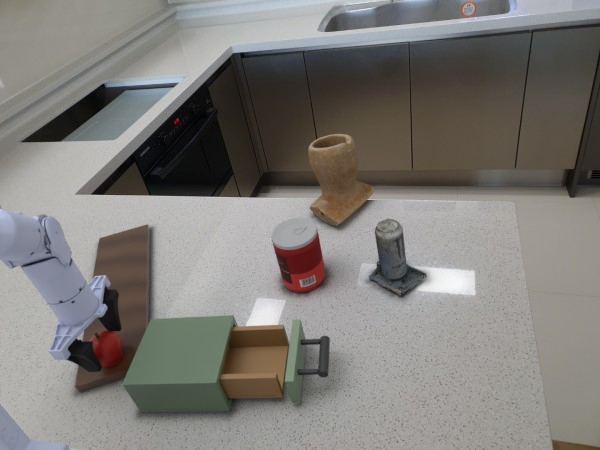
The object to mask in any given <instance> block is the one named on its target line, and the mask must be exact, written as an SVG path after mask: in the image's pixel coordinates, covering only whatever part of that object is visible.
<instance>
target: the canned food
mask: <svg viewBox="0 0 600 450" xmlns="http://www.w3.org/2000/svg"><path fill="white" fill-rule="evenodd" d="M271 242H272V246H273V250H274V253H275V257H276V260H277V264H278V267H279V268H278V269H279V271H280V276H281V278H282V282H283V284H284V285H285V288H287V289H288V290H289V291H291V292H294V293H299V294H301V293H308V292H312V291H313V290H315V289H317V288H318V287H320V286H321V284H322V283H323V282H324V280H325V276H326V269H325V268H326V267H325V263H324V258H323V257H324V256H323V252H322V245H321V240H320V235H319V232H318V226H317V225H316V223H315V222H314V221H313V220H312V219H309V218H305V217H294V218H293V217H292V218H289V219H287V220H284V221H282V222H280V223H279V224H278V225H277V226H276V227H275V228H274V229H273V230H272V232H271Z"/></svg>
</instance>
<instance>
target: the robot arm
mask: <svg viewBox="0 0 600 450" xmlns="http://www.w3.org/2000/svg"><path fill="white" fill-rule="evenodd" d="M72 255H73V254H72V250H71V247H70V245H69V244H68V242H67V239H66V236H65V231H64V229H63V227H62V225H61V223H60V221H59V220H57V219H56V218H55V217H54V216H52V215H46V214H44V213H41V214H36V215H34V216H29V215H27V214H26V215H25V214H23V213H22V212H21V211H20V212H19V211H10V210H8V209H7V210H6V209H2V205H1V204H0V261H1V262H2V263H3V264H4V265H5V266H6V267H8V268H10V269H11V270H13V269H15V268H17V267H20V269H21V271H23V273H24V274H25V276H26V277H27V278H28V280H29V281H30V282H31V283H32V285H33V286H34V288H35V289H36V291H37V292H38V294H39V295H40V296H41V297H42V299H43V300H44V302H45V304H46V305H47V306H48V307H49V308H50V310H51V311H52V313H53V314H54V315H55V316H56V318H57V322H56V326H55V332H54V336H53V340H52V344H51V346H50V347H49V349H48V353H49V354H50V356H51V357H52V358H53V359H54V361H68V362H71V363H73V364H76V365H77V366H81V367H82V368H84V369H85V370H87V371H88V372H100V371H101V369H102V365H101V363H100V361H99V360H98V358H97V357H96V355H95V352H94V349H93V341H85V342H82V341H83V340H82V339H81V338H80V339H79V338H78V337H80V335H81V334H83V333H84V330H85V329H86V328H87V327H88V326H89V325H90V324H91V323H92V322H93V321H94V320H95V319H96V318H98V319H99V320H100V322H101V323H102V324H103V326H104V327H105V328H106V329H107V330H108V331H112V332H113V331H121V329H122V328H121V322H120V318H119V313H118V297H119V293H118V292H117V290H115V289H110V290H108V289H107V288H109V286H110V284H111V283H110V281H109V280H108V278H107V276H106V275H105V276H95V277H94V278H93V277H92V280H91V281H90V282H87V280H86V278H85V277H84V275H83V274H82V272H81V271H80V269H79V267H78V266H77V264H76V263H75V261H74V260H73V257H72ZM0 450H72V449H71V448H70V447H69V446H68V445H67V443H64V442H59V441H57V442H56V441H48V440H38V439H31V438H30V437H29V436H28V435H27V434H26V433H25V431H24V430H23V429H22V428H21V426H19V424H18V423H17V422H16V420H15V419H13V417H12V416H11V415H10V414H9V412H8V411H7V410H6V409H5V408H4V406H3V405H2V404H1V403H0Z"/></svg>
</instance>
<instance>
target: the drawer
mask: <svg viewBox="0 0 600 450" xmlns="http://www.w3.org/2000/svg"><path fill="white" fill-rule="evenodd" d="M315 345H316V346H318V345H319V352H318V364H317V365H318V366H317V367H318V368H305V359H306V348H307V346H315ZM330 345H331V338H330V336H328V335H322V336H321V337H320V338H306V335H305V331H304V327H303V324H302V319H300V318H299V319H298V318H297V319H292V323H291V329H290V338H289V337H288V334H287V331H286V328H285V325H284V324H267V325H265V324H264V325H263V324H262V325H241V326H239V325H238V327H233V328H232V332H231V336H230V340H229V343H228V347H227V351H226V355H225V359H224V363H223V367H222V371H221V375H220V378H219V383H220V385H221V387H222V389H223V391H224V393H225V395H226V397H227V398H233V399H283V397H284V391H285V387H286V389H287V393H288V396H289V399H290V402H291V404H301V402H302V401H301V400H302V391H303V379H304V376H318V377H320V378H327V377H329V367H330Z"/></svg>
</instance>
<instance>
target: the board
mask: <svg viewBox="0 0 600 450" xmlns="http://www.w3.org/2000/svg"><path fill="white" fill-rule="evenodd" d="M97 245H98V246H97V250H96V256H95V263H94V269H93V275H92V279H93V278H94V277H95V276H105V275H106V276H107V278H108V280H109V281H110V283H111V284H110V286H109V288H107V289H108V290H110V289H115V290H117V292H118V293H119V297H118V313H119V318H120V322H121V328H122V329H121V331H113V332H114V333H116V334H117V335H118V336H119V337H120V338H121V340H122V343H123V349H122V351H123V357H122V359H121V360H120V361H119V362H118V363H117V364H116V365H114V366H112V367H104V366H102V369H101V371H100V372H88V371H87V370H85V369H84V368H82V367H81V366H79V365H77V366H78V367H77V373H76V379H75V385H74V388H75V389H76V390H77V391H78V392H79V393H82V392H84V391H88V390H91V389H94V388H96V387H99V386H103V385H107V384H109V383H112V382H115V381H118V380H121V379H122V380H123V379H125V377H126V374H127V372H128V370H129V367H130V365H131V363H132V361H133V358H134V356H135V354H136V352H137V349H138V347H139V345H140V343H141V340H142V338H143V336H144V333H145V331H146V329H147V327H148V324H149V322H150V276H151V275H150V271H151V270H150V269H151V268H150V265H151V229H150V226H149V224H143V225H140V226H137V227H133V228H129V229H127V230H123V231H119V232H116V233H113V234H109V235H105V236H102V237H99V238H98V244H97ZM102 331H108V330H107V329H106V328H105V327H104V326H103V324H102V323H101V322H100V320H99V319H98V318H96V319H95V320H94V321H93V322H92V323H91V324H90V325H89V326H88V327H87V328H86V329H85V330H84V331H83V335H82V340H81V341H82V342H85V341H90V339H91V338H92V337H93V336H94V334H95V333H99V332H102Z"/></svg>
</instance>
